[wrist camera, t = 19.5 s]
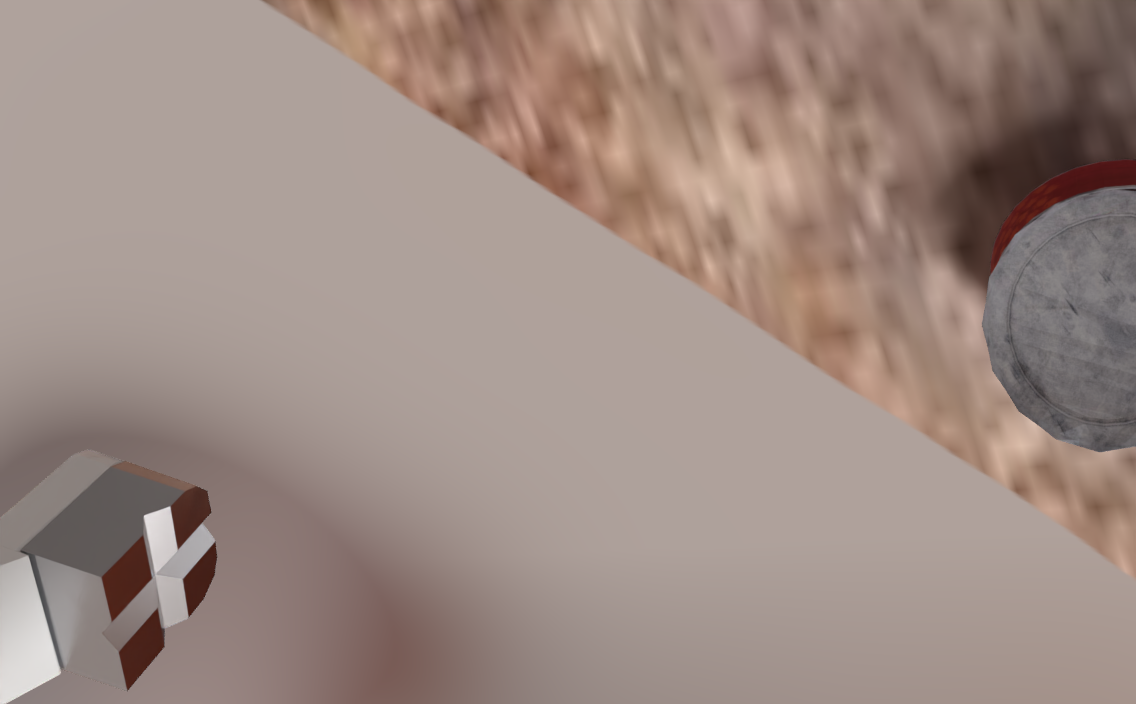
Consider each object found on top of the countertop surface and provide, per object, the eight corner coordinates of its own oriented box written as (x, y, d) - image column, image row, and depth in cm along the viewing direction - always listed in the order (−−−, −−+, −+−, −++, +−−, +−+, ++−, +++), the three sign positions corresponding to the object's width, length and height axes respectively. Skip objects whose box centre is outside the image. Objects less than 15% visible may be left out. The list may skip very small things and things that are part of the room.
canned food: (996, 267, 53) (887, 329, 47) (1124, 98, 47) (1017, 145, 40) (1193, 425, 49) (1101, 516, 43) (1367, 263, 42) (1287, 345, 36)
